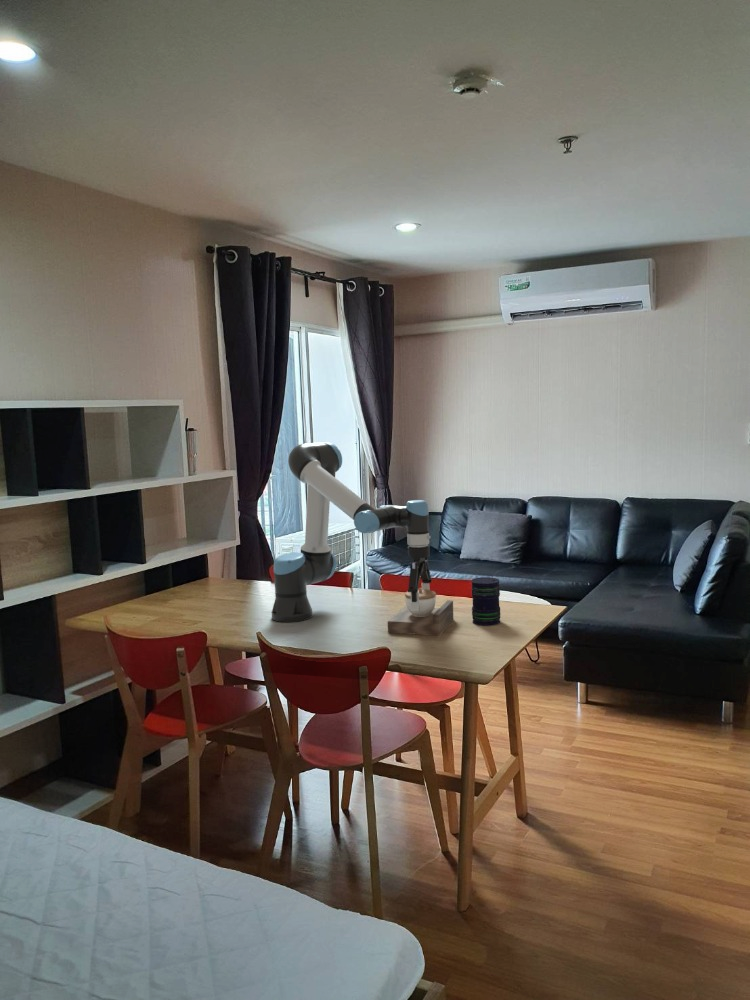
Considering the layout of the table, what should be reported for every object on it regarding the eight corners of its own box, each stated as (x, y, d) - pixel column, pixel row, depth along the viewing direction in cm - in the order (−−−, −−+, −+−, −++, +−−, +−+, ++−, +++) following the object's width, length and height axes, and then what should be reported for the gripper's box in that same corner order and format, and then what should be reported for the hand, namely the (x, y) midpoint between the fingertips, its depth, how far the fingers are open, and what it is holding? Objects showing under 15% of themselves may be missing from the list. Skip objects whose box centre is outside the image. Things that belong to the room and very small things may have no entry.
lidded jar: (434, 619, 261) (433, 592, 260) (403, 618, 263) (402, 591, 262) (438, 611, 271) (437, 585, 270) (408, 610, 274) (407, 584, 273)
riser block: (388, 632, 261) (387, 612, 261) (405, 617, 280) (404, 598, 279) (439, 635, 255) (438, 614, 255) (453, 619, 274) (452, 600, 273)
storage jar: (471, 626, 265) (470, 583, 263) (472, 618, 275) (471, 577, 273) (501, 626, 264) (500, 583, 262) (500, 618, 273) (499, 577, 272)
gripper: (419, 551, 252) (421, 615, 254) (438, 539, 275) (440, 597, 277) (397, 551, 254) (399, 614, 257) (418, 539, 278) (420, 597, 280)
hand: (420, 606), depth 267 cm, fingers open, 13 cm apart
